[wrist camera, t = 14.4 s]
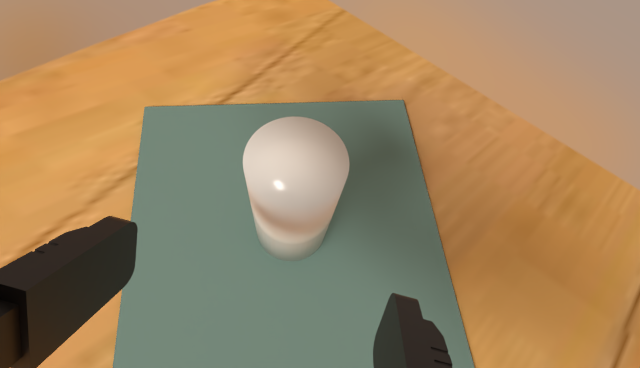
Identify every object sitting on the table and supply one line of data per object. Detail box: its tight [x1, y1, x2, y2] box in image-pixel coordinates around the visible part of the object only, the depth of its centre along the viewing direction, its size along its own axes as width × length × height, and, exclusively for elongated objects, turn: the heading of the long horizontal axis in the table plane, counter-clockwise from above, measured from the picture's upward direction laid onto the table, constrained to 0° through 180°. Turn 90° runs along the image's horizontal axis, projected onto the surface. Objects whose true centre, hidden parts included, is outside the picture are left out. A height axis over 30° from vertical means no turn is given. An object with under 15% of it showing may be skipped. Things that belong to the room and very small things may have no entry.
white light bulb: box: [243, 116, 350, 261], centre depth 19 cm, size 4×4×9 cm
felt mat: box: [113, 100, 474, 368], centre depth 23 cm, size 20×20×1 cm
